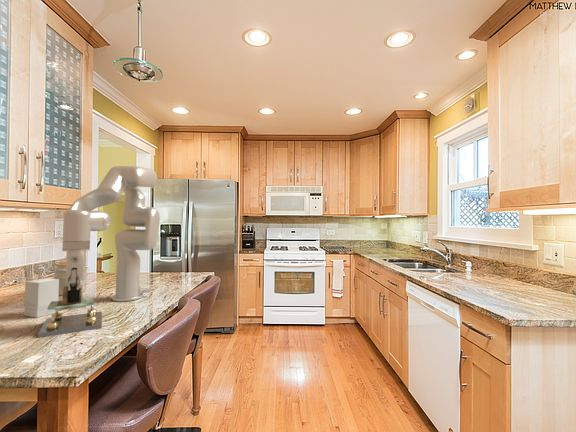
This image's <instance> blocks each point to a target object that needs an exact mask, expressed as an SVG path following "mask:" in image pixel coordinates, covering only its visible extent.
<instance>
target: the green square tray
mask: <svg viewBox="0 0 576 432" xmlns="http://www.w3.org/2000/svg"><path fill="white" fill-rule="evenodd" d="M68 289H69V286H65V287H64V288H63V295H62V299H58V301H53V302H51V303H50V304H49V306H48V309H47V310H53V309H55V311H57V310H58V311H64V310H73V309H74V310H75V309H82V308H87V306H91V305H94V304H95V297H94V296H93V297H88V296H83V293H82V285H79V289H80V298H79V302H73V303H67V295H68ZM94 306H95V305H94Z"/></svg>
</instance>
